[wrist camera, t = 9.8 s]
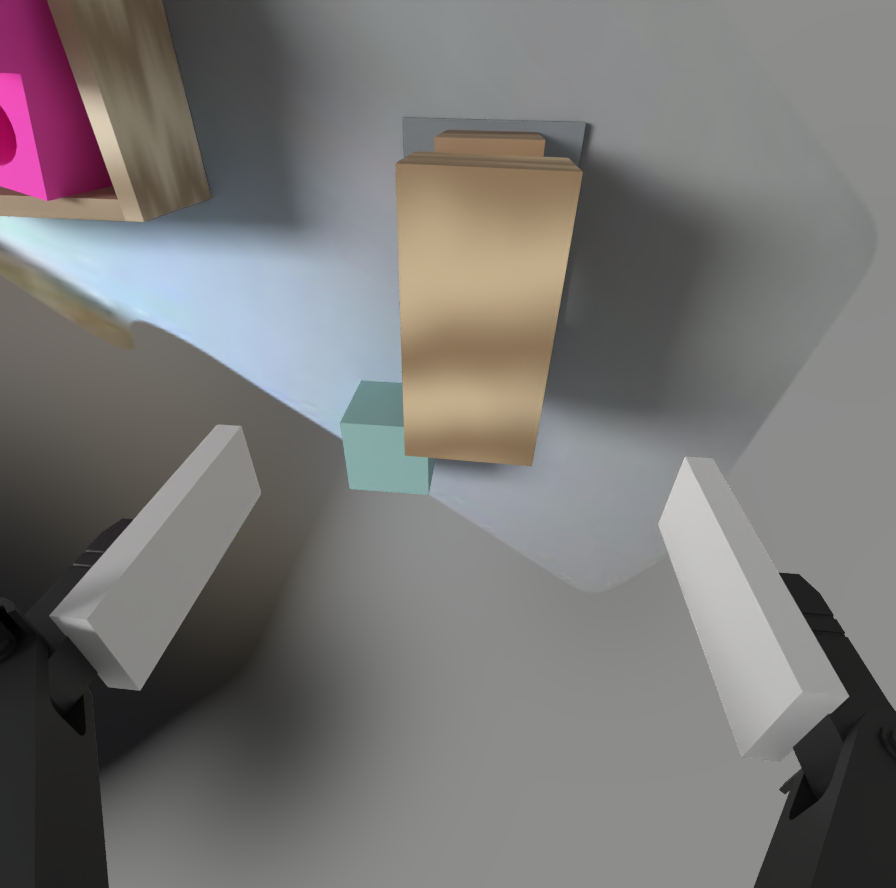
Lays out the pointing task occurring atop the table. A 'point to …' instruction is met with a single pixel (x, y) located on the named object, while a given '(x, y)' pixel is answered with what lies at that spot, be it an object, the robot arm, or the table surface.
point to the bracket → (42, 110)
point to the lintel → (480, 298)
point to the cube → (381, 442)
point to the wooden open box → (126, 114)
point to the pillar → (490, 142)
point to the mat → (557, 134)
